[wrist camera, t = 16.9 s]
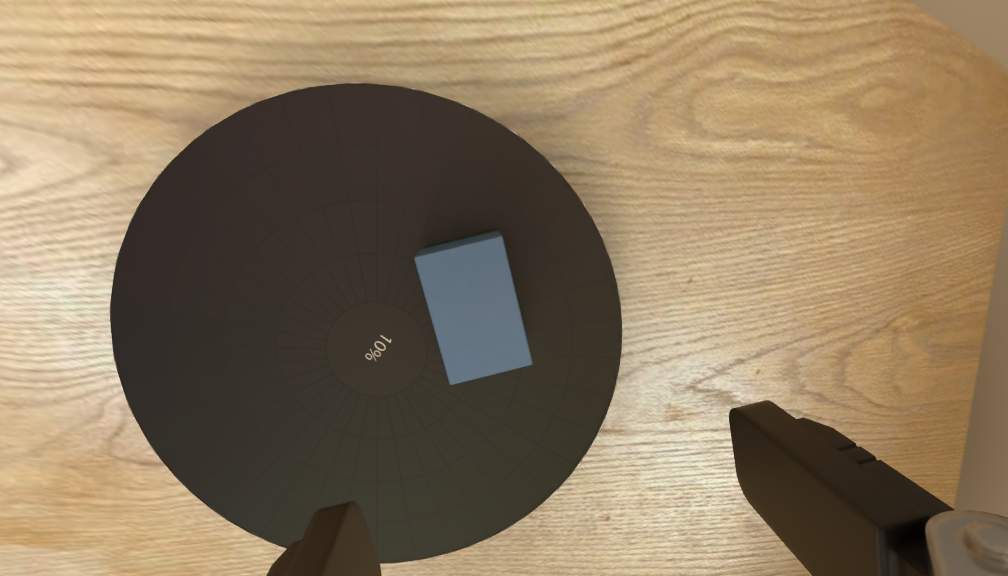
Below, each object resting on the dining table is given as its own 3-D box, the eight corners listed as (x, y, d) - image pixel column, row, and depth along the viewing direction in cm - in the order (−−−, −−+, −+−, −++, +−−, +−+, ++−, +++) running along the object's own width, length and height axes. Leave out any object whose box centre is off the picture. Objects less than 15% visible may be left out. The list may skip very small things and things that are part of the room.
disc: (477, 591, 35) (478, 627, 32) (74, 427, 31) (32, 453, 28) (692, 245, 31) (715, 250, 28) (261, -10, 26) (234, -35, 23)
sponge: (421, 247, 27) (413, 257, 23) (497, 228, 27) (502, 235, 23) (452, 358, 28) (449, 386, 24) (524, 341, 28) (533, 365, 25)
